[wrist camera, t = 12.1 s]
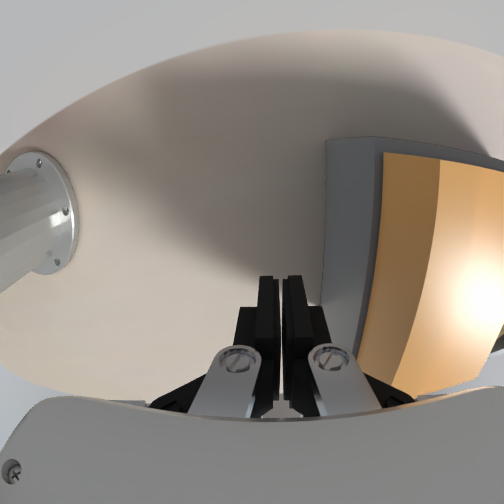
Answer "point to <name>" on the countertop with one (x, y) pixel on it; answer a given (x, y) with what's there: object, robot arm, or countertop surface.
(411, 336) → the cover
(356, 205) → the housing
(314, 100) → the countertop surface
